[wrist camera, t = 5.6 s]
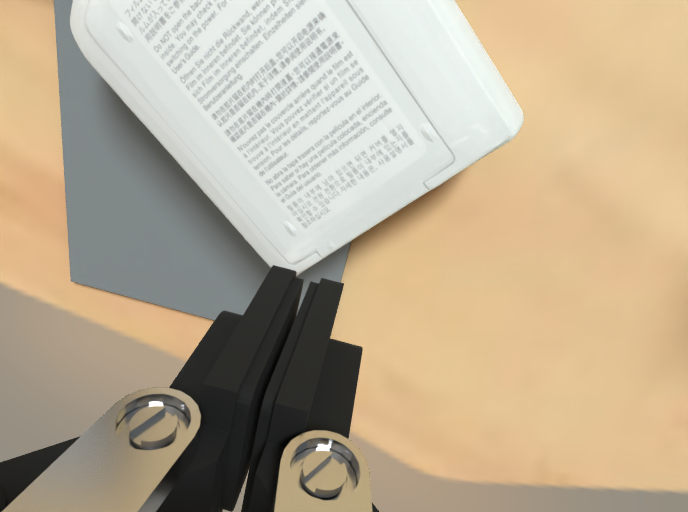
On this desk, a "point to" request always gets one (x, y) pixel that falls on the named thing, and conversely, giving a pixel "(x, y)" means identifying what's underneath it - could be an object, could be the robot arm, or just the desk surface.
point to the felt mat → (147, 206)
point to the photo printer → (304, 106)
